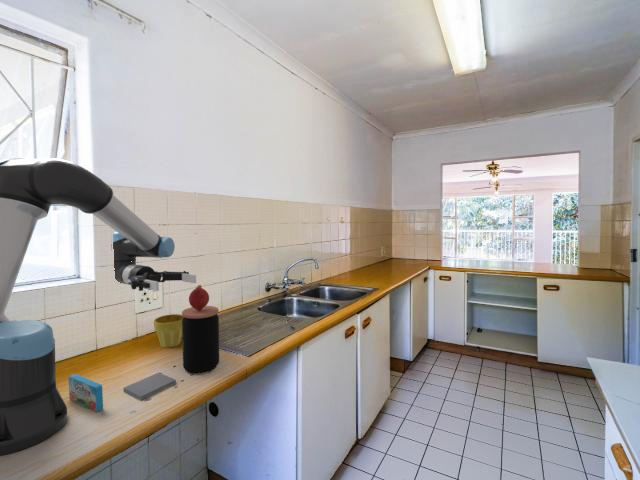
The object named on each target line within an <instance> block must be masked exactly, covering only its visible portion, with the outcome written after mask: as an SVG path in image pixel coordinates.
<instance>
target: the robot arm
mask: <svg viewBox="0 0 640 480" xmlns="http://www.w3.org/2000/svg"><path fill="white" fill-rule="evenodd" d="M52 205H64V206H69V207H73V208H76V209H78V210H80V211H81V212H82V213H85V214H88V215H89V214H90V215H91V214H92V215H93V216H94V217H95V218H97V219H99V220H100V221H101V222H102V223H104V224H106V225H107V226H108V227H110V228H111V229H112V230H114V231H113V232H114V233H113V232H112V233H113V249H114V268H115V270H114V271H115V279H116V280H117V281H118V282H120V283H119V284H124V285H130V287H131V289H132V290H137V288H138V291H140V292H143V291H144V289H146V290H150V291H153V292H154V291H155V292H158V291H159V290H160V285H159V283H165V282H167V281H170V282H172V281H173V282H174V281H181V282H183V283H191V284H196V283H197V274H193V273H192V274H191V273H190V271H186V270H184V271H167V270H164V271H155V270H154V269H153V268H152V267H151V266H148V265H141V264H137V258H156V259H157V258H159V259H162V258H170V257H172V255H173V254H174V251H175V242H174V240H173V238H172V237H168V236H160V235H159V234H158V233H157V232H156V231H154V230H153V229H152V228H151V227H150V226H149V225H148V224H147V223H146V222H145V221H143V220H142V219H141V218H140V217H139V216H138V215H137V214H135V213H134V212H133V211H132V210H131V209H130V208H129V207H128V206H126V205H125V204H124V203H123V202H122V201H121V200H120V199H118V198H117V197H116V196H115V195H114V191H113V188H112V187H110V186H109V185H108V184H107V183H106V182H105V181H103V180H102V179H101V178H100V177H98V176H97V175H96V174H94V173H92V172H91V171H89V170H88V169H86V168H85V167H82V166H81V165H79V164H77V163H74V162H72V161H69V160H65V159H61V158H33V159H32V158H30V159H29V158H27V159H26V158H22V157H21V158H20V157H19V158H18V157H17V158H15V157H14V158H8V159H1V160H0V456H2V455H7V454H13V453H16V452H19V451H22V450H24V449H27V448H30V447H32V446H34V445H37V444H39V443H42V442H43V441H45V440H47V439H48V438H50V437H51V436H53V435H54V434H56V433H57V432H59V430H61V429H62V428H63V427H64V426H65V424H66V423H67V421H68V417H69V416H68V408H67V407H68V406H67V405H66V402H65V401H64V398H63V397H62V395H61V394H60V392H59V390H58V388H57V381H56V377H57V376H56V374H57V373H56V371H57V370H56V347H55V346H56V340H55V338H54V331H53V328H52V327H51V326H50V324H48V323H46V322H45V321H44V322H43V321H41V320H34V319H22V320H16V319H15V320H10V319H9V318H8V317H7V316H6V314H5V312H6V309H7V308H8V307H7V306H8V304H9V301H10V298H11V295H12V292H13V289H14V287H15V283H16V281H17V278H18V275H19V273H20V271H21V268H22V264H23V262H24V259H25V257H26V253H27V251H28V247H29V244H30V242H31V239H32V237H33V233H34V231H35V228H36V226H37V222H38V221H39V220H41V219H44V218H46V217H48V215H49V212H50V208H51V206H52ZM115 231H116V232H115ZM131 261H132V262H131Z"/></svg>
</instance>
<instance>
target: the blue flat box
mask: <svg viewBox="0 0 640 480" xmlns="http://www.w3.org/2000/svg"><path fill="white" fill-rule="evenodd" d="M68 392H69V393H68V394H69V397H68V398H69V400H70V401H73V402H74V403H76V404H79V405H81V406H83V407H84V408H87V409H88V410H91V411H93V412H94V413H97V412H100V411H101V410H104V400H103V399H104V397H103V385H102V384H101V383H98V382H97V381H93V380H91V379H90V378H89V379H88V378H86V377H84V376H81V375H79V374H77V373H76V374H72V375H70V376H68Z"/></svg>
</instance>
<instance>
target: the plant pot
mask: <svg viewBox="0 0 640 480" xmlns="http://www.w3.org/2000/svg"><path fill="white" fill-rule="evenodd" d="M183 318H184V317H183V316H182V314H179V313H178V314H177V313H176V314H175V313H173V314H165V315H161V316H158V317H156V318H155V319H154V320H153V325H154V326H153V329H154V331H156V333H157V337H158V339H159V345H160V347H161V348H168V349H169V348H174V347H177V346H179V345H180V344H181V343H182V319H183Z"/></svg>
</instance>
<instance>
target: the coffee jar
mask: <svg viewBox="0 0 640 480" xmlns="http://www.w3.org/2000/svg"><path fill="white" fill-rule="evenodd" d="M219 311H220V309H219V308H218V306H212V305H206V306H205V307H204V308H203V309H202V310H200V311H198V310H196V309H194V308H193V307H192V306H191V307H188V308H186V309H183V310H182V311H181V315H182V316H183V317H184V318H183V319H182V338H181V340H182V367H183V369H184V370H185V372H187V373H189V374H194V375H199V374H205V373H209V372H212V371H213V370H215V369H216V368H217V366H218V365H219V363H220V320H219V319H220V318H219V315H218V314H219Z"/></svg>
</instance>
